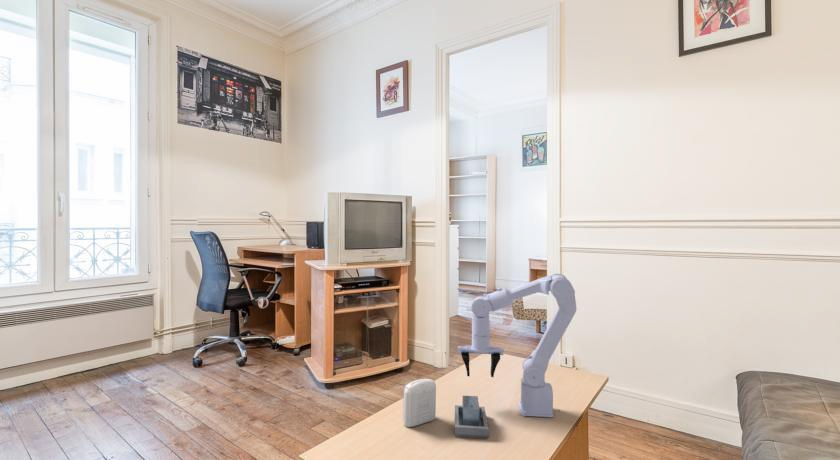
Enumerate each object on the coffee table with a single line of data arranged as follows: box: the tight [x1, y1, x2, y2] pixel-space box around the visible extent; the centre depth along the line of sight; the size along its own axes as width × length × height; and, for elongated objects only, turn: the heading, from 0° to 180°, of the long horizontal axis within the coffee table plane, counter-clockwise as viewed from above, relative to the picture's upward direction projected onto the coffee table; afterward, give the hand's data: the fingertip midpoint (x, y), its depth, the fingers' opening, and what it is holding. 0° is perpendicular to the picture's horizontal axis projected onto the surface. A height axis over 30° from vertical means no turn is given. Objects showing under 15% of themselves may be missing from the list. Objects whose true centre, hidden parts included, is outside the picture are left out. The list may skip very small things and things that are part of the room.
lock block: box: [461, 395, 480, 426], centre depth 112 cm, size 4×8×6 cm, turn 175°
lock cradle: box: [454, 404, 489, 440], centre depth 112 cm, size 9×12×3 cm
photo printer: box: [402, 378, 437, 428], centre depth 114 cm, size 10×4×12 cm, turn 123°
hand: (480, 375), depth 125 cm, fingers open, 7 cm apart
